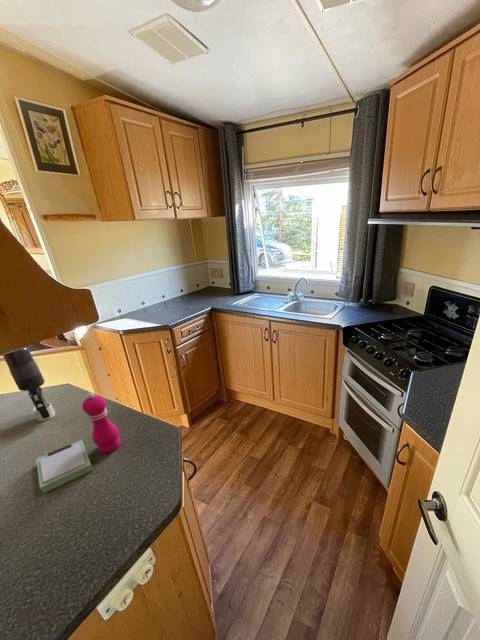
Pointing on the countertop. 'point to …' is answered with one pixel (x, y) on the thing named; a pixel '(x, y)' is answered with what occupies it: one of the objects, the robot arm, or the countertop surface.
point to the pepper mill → (101, 424)
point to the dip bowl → (49, 408)
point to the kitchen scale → (62, 466)
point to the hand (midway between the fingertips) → (45, 412)
